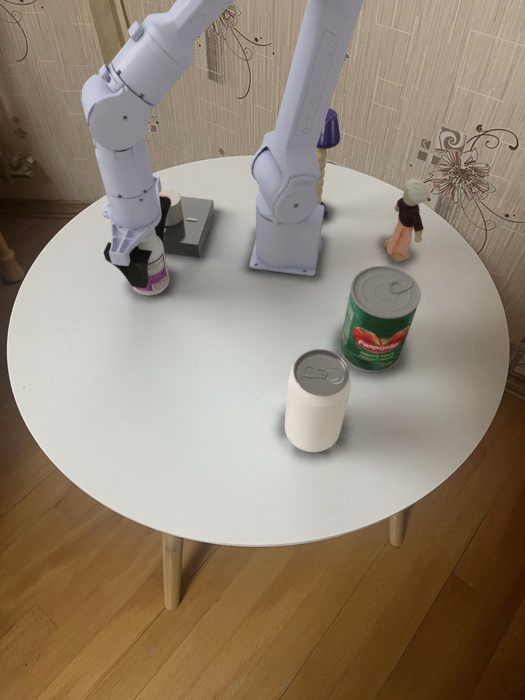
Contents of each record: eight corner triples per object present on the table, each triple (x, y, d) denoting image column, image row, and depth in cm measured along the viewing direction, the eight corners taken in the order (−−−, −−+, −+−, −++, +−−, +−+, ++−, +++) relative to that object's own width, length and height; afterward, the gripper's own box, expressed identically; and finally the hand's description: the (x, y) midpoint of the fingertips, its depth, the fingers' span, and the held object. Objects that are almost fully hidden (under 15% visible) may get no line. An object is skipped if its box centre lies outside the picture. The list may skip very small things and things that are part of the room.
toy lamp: (300, 201, 90) (308, 102, 76) (330, 202, 90) (343, 103, 76) (300, 221, 87) (308, 122, 74) (330, 222, 87) (343, 124, 74)
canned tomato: (359, 381, 70) (374, 326, 61) (328, 335, 74) (338, 277, 65) (412, 359, 72) (435, 303, 63) (379, 316, 76) (396, 257, 67)
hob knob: (186, 209, 85) (183, 189, 82) (179, 227, 82) (176, 207, 79) (160, 206, 85) (156, 185, 82) (152, 224, 83) (148, 203, 80)
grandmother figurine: (372, 241, 85) (388, 169, 74) (393, 233, 86) (412, 161, 75) (402, 274, 81) (423, 204, 70) (424, 266, 82) (447, 195, 71)
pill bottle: (132, 270, 81) (119, 217, 73) (169, 267, 81) (160, 215, 73) (130, 298, 78) (116, 246, 70) (169, 296, 78) (159, 244, 70)
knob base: (214, 212, 88) (213, 199, 86) (199, 257, 82) (197, 244, 80) (146, 204, 89) (143, 190, 87) (126, 248, 83) (123, 234, 81)
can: (336, 458, 64) (350, 404, 54) (279, 448, 65) (283, 392, 55) (342, 410, 68) (357, 351, 58) (289, 400, 68) (294, 340, 59)
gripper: (116, 142, 70) (135, 226, 81) (73, 220, 62) (101, 301, 73) (171, 148, 70) (182, 232, 81) (135, 227, 61) (154, 308, 72)
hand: (147, 265), depth 77 cm, fingers open, 7 cm apart
